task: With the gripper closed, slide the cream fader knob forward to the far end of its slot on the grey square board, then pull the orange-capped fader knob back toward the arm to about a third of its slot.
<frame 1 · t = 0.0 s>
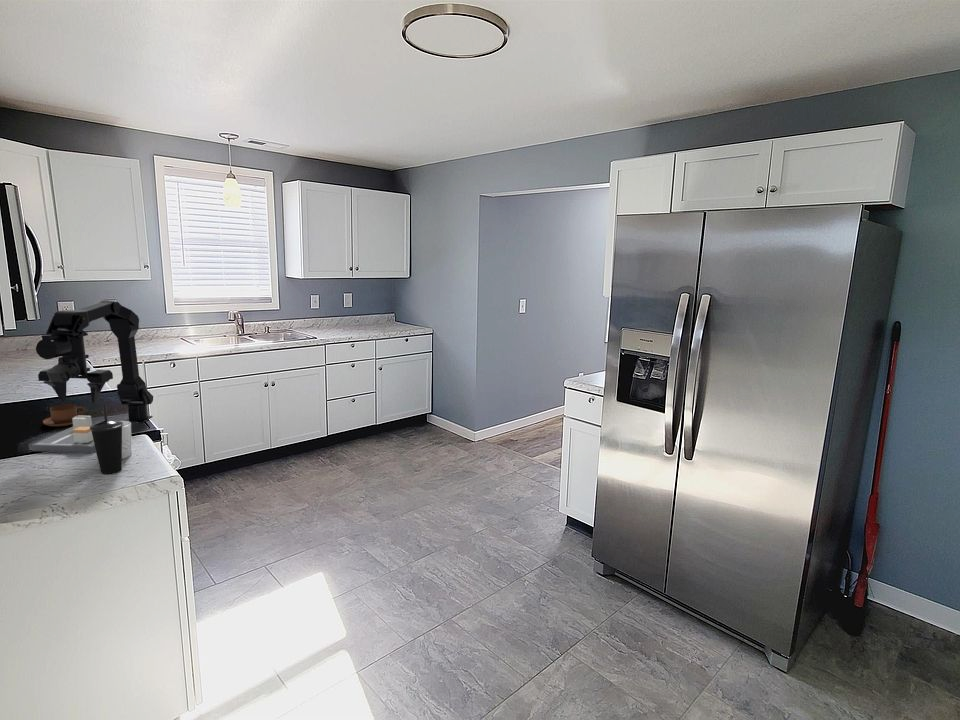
hand: (79, 402, 165), 15 cm above the table, tool pointing down, fingers open, 9 cm apart
cup and saucer: (65, 424, 189), on the table
drinking cup: (111, 471, 152), on the table
cream fader: (82, 422, 177), point 4 cm above the table, slide at 1.0 cm
grey square board: (83, 441, 173), on the table
white cup: (118, 456, 162), on the table
orange fader: (83, 434, 167), point 4 cm above the table, slide at 12.0 cm
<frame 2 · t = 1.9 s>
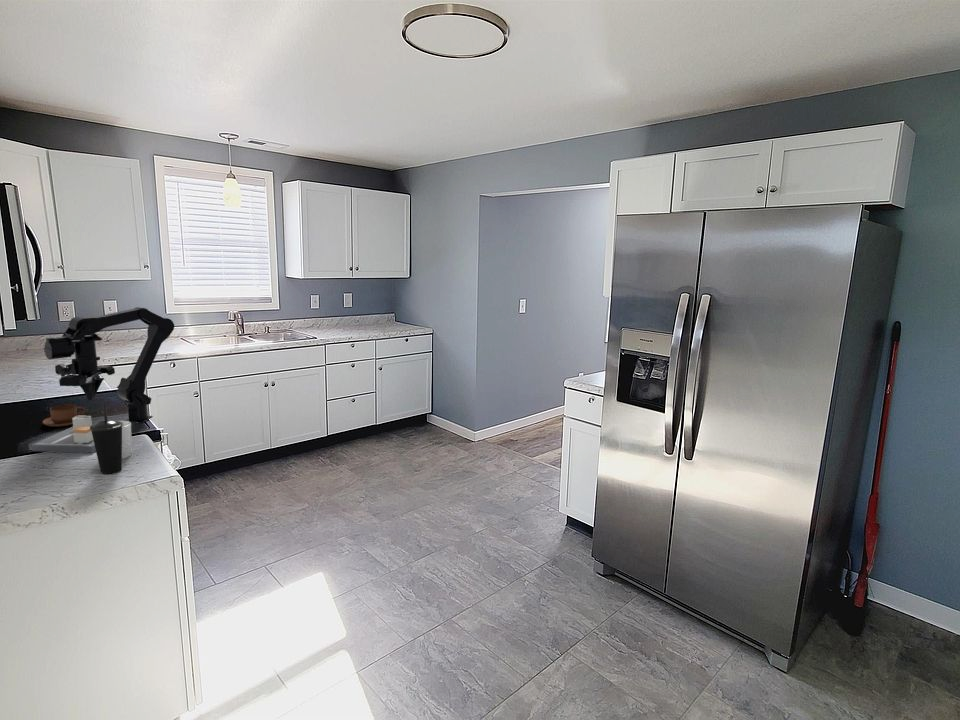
hand: (91, 400, 181), 11 cm above the table, tool pointing down, fingers closed
nothing on the table moved.
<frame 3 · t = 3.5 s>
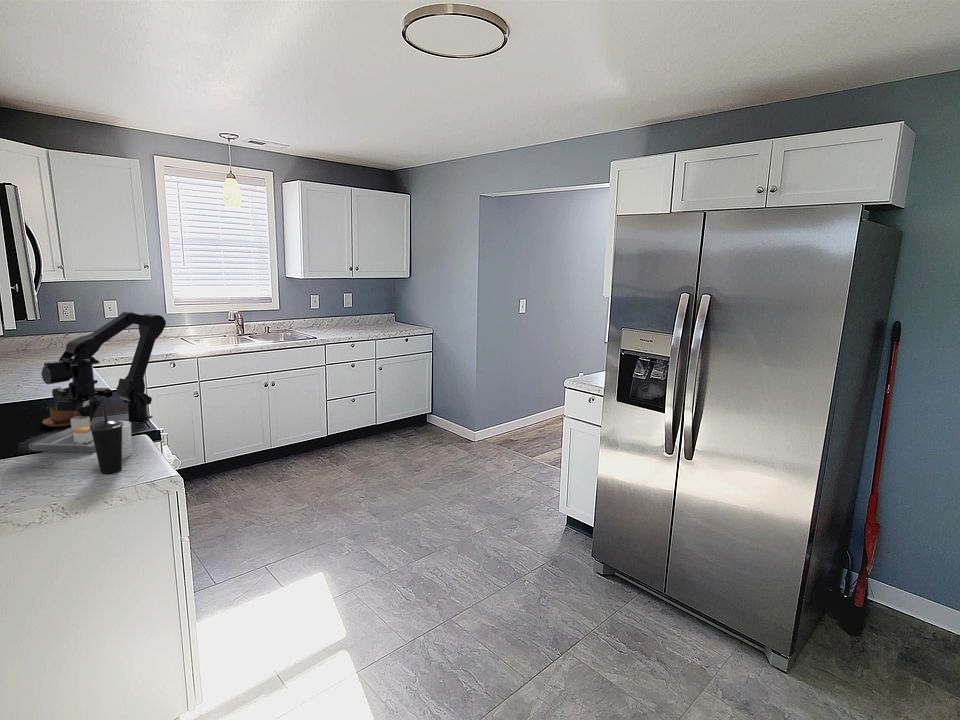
hand: (88, 423, 180), 3 cm above the table, tool pointing down, fingers closed
cream fader: (80, 423, 177), point 4 cm above the table, slide at 1.8 cm, touching gripper
everything else where it was.
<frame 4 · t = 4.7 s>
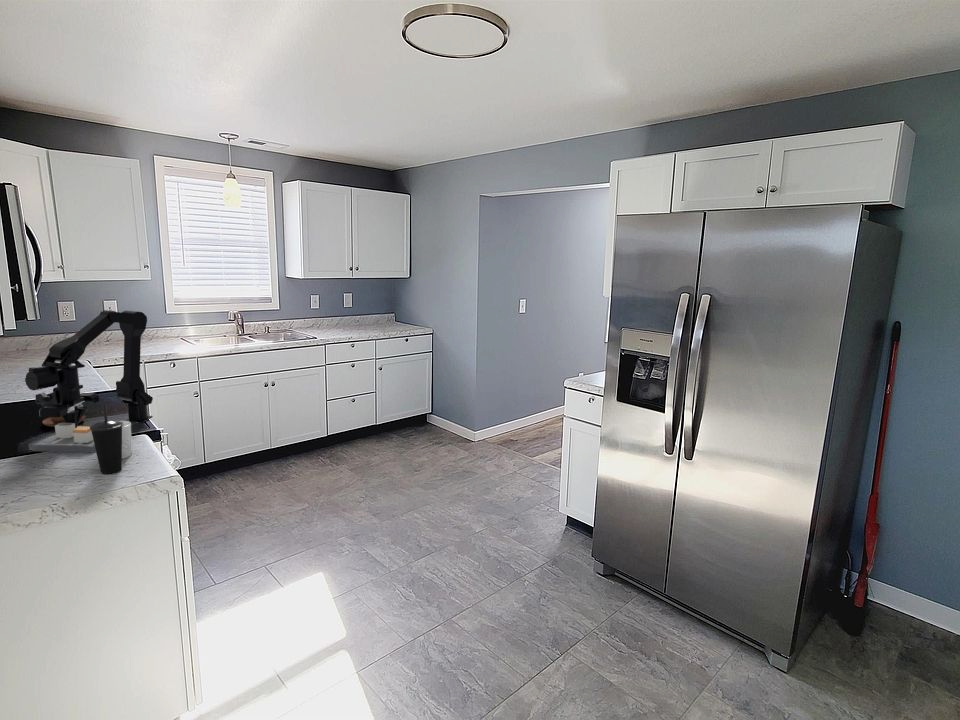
hand: (73, 430, 174), 3 cm above the table, tool pointing down, fingers closed
cream fader: (65, 430, 170), point 4 cm above the table, slide at 8.6 cm, touching gripper
everything else where it was.
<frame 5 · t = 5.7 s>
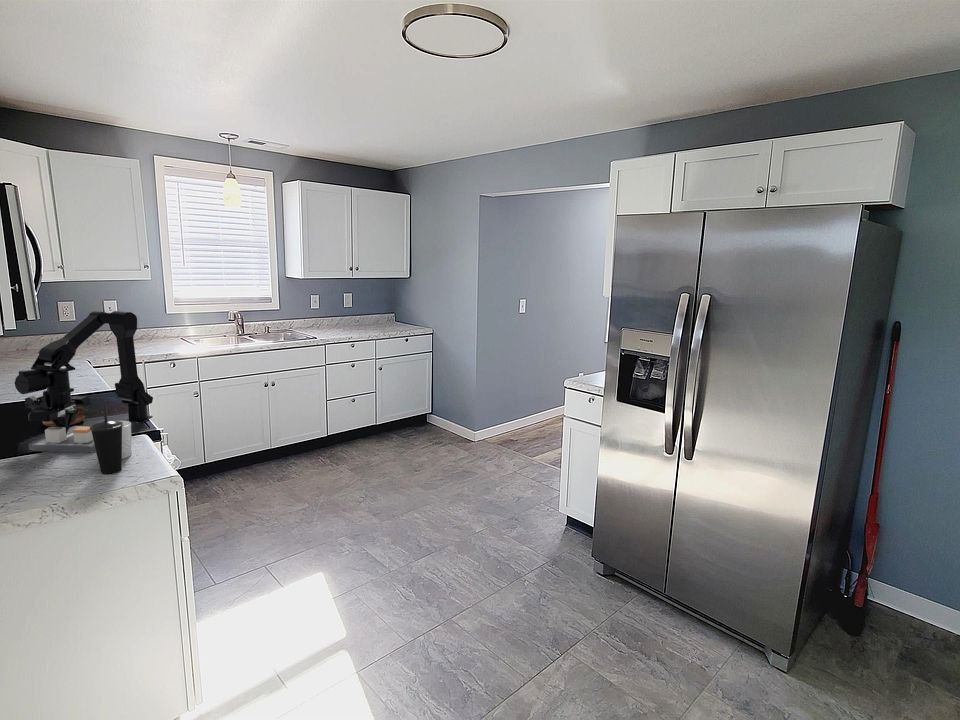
hand: (64, 434, 170), 3 cm above the table, tool pointing down, fingers closed
cream fader: (55, 434, 166), point 4 cm above the table, slide at 12.6 cm, touching gripper
everything else where it was.
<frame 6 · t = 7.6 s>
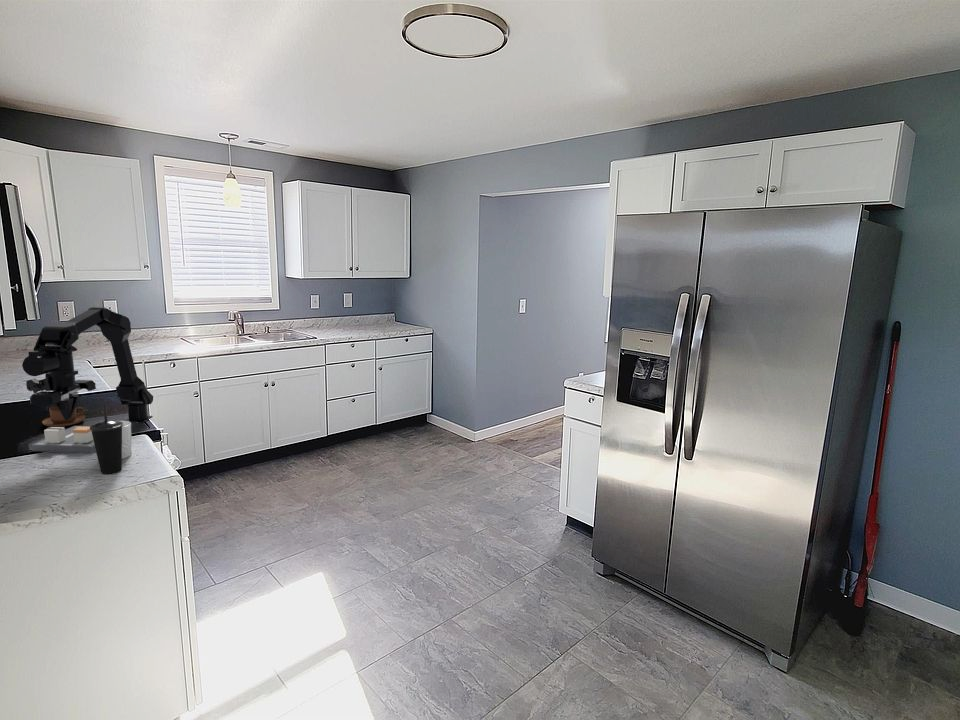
hand: (67, 419, 160), 11 cm above the table, tool pointing down, fingers closed
cream fader: (55, 434, 166), point 4 cm above the table, slide at 12.9 cm
everything else where it was.
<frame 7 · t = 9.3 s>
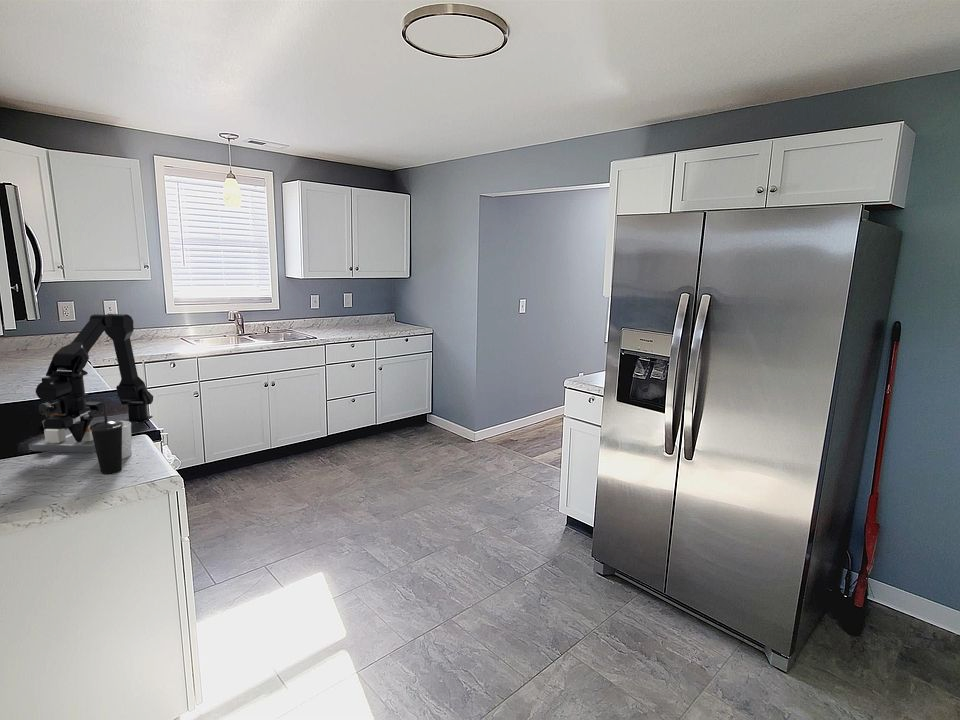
hand: (79, 441, 165), 3 cm above the table, tool pointing down, fingers closed
orange fader: (86, 433, 168), point 4 cm above the table, slide at 10.6 cm, touching gripper
everything else where it was.
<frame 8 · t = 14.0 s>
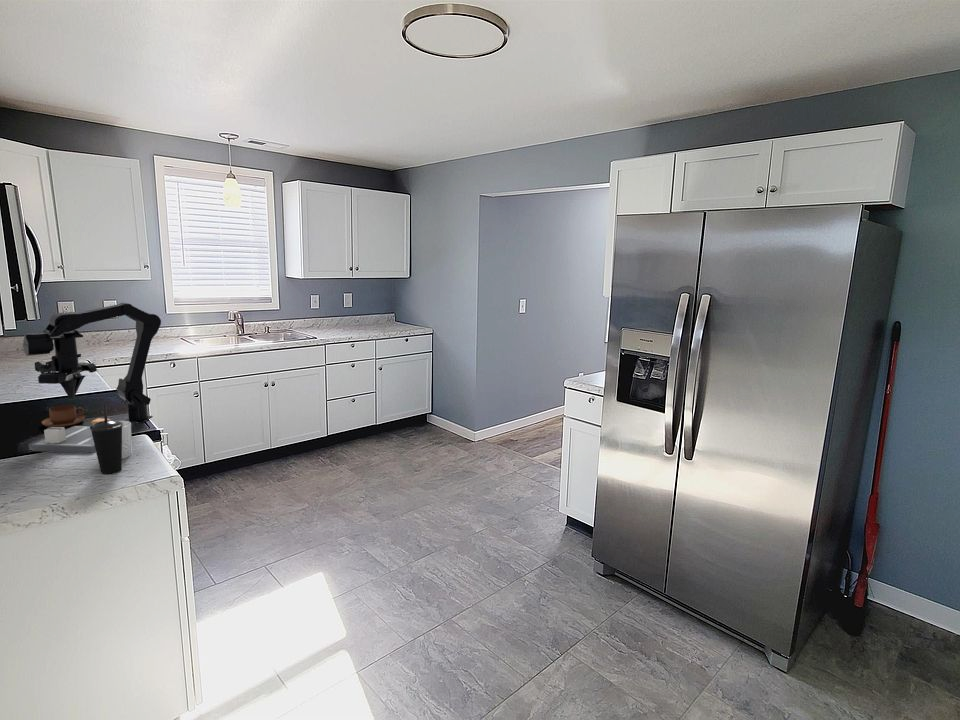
hand: (71, 398, 178), 12 cm above the table, tool pointing down, fingers closed
orange fader: (101, 425, 175), point 4 cm above the table, slide at 3.5 cm
everything else where it was.
at the end: cream fader slide at 12.9 cm; orange fader slide at 3.5 cm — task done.
